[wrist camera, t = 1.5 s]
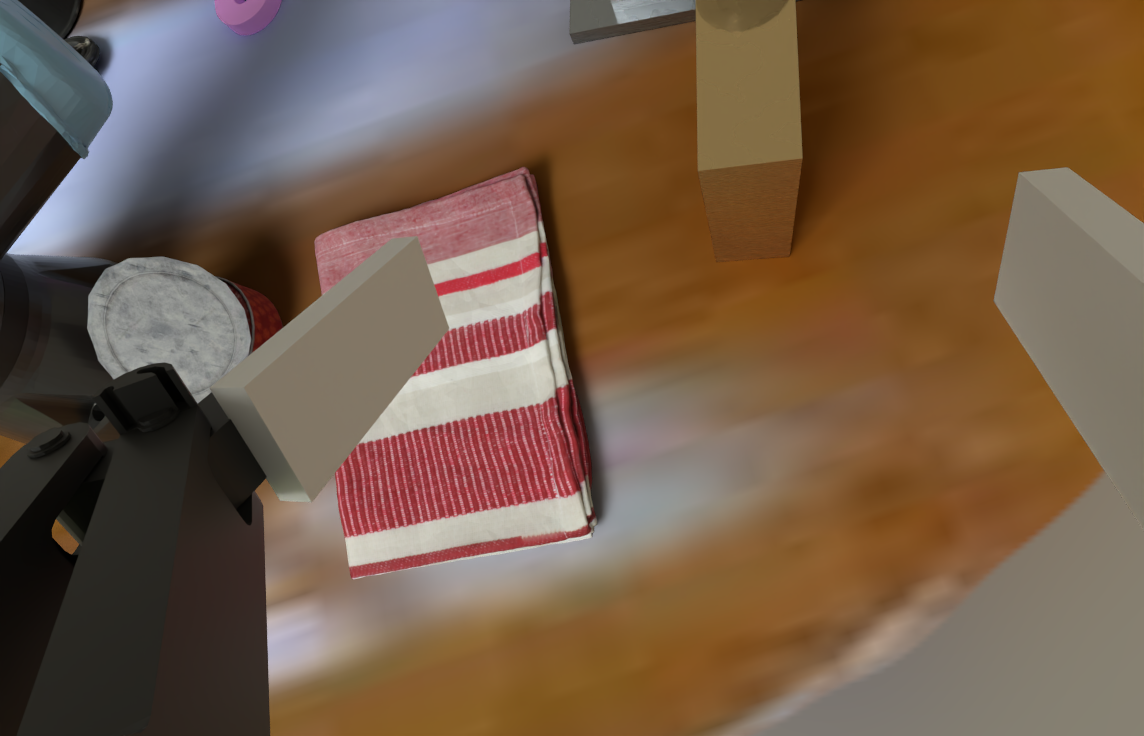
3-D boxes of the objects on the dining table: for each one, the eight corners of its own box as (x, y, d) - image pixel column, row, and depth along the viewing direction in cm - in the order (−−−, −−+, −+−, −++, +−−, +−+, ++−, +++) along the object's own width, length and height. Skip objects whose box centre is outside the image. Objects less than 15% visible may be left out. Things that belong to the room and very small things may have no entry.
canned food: (305, 305, 49) (269, 242, 40) (296, 426, 46) (256, 388, 37) (150, 304, 47) (74, 237, 38) (130, 431, 44) (42, 392, 35)
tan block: (716, 262, 35) (697, 171, 25) (713, 105, 37) (695, -42, 26) (789, 256, 34) (802, 158, 23) (783, 94, 36) (792, -64, 25)
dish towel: (541, 174, 40) (526, 153, 38) (608, 535, 35) (596, 539, 32) (327, 246, 44) (301, 232, 42) (357, 578, 39) (330, 585, 36)
